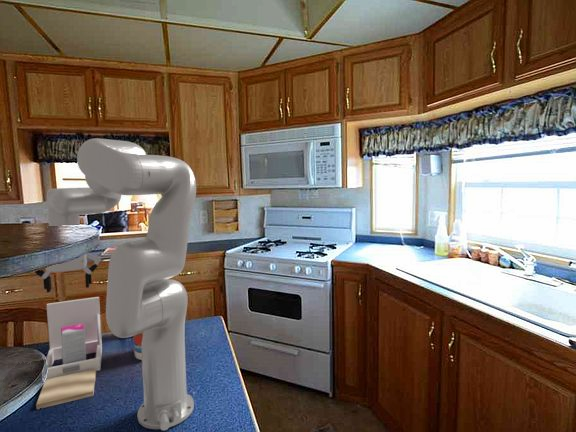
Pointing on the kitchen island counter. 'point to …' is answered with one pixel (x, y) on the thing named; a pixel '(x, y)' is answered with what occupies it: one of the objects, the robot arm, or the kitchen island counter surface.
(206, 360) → the kitchen island counter surface
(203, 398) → the kitchen island counter surface
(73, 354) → the supplement box
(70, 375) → the pine board
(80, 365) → the case
